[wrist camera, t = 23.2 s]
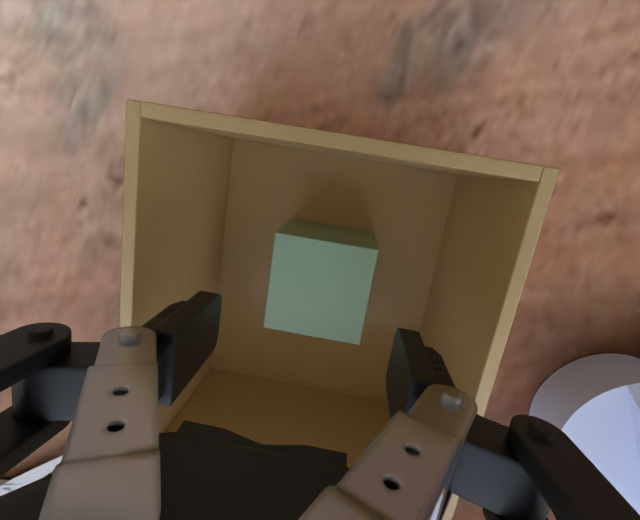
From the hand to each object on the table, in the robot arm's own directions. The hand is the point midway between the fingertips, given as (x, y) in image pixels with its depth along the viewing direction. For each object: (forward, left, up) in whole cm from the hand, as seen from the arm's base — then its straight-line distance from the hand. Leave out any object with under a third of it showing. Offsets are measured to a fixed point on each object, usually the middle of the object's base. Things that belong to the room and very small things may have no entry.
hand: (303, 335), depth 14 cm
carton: (+1, 0, -11) cm, 11 cm away
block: (0, 0, -10) cm, 10 cm away
